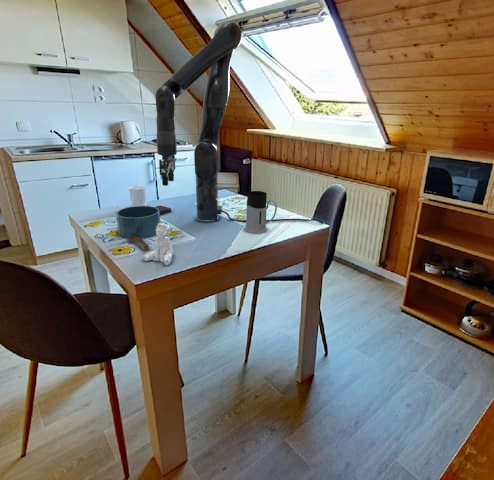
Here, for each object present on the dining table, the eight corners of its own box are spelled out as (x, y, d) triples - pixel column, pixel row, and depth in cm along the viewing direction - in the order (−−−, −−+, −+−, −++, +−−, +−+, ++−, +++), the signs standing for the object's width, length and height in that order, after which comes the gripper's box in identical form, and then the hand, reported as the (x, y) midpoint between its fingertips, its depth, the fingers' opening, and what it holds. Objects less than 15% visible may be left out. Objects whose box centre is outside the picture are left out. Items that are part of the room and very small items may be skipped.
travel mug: (254, 224, 145) (256, 189, 140) (281, 233, 136) (284, 195, 130) (240, 229, 139) (241, 193, 134) (267, 238, 130) (269, 200, 124)
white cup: (150, 206, 169) (148, 186, 165) (141, 210, 162) (139, 189, 159) (136, 204, 172) (134, 185, 168) (127, 209, 165) (125, 188, 161)
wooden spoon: (152, 249, 120) (152, 243, 119) (140, 252, 118) (140, 246, 117) (137, 237, 130) (137, 232, 129) (126, 240, 127) (126, 235, 127)
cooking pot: (164, 224, 144) (163, 206, 141) (154, 238, 129) (153, 218, 126) (126, 223, 145) (124, 205, 142) (112, 237, 130) (109, 217, 127)
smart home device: (171, 208, 161) (136, 218, 146) (172, 211, 161) (136, 222, 147) (160, 204, 165) (124, 214, 151) (160, 208, 166) (125, 218, 151)
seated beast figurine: (142, 261, 111) (139, 225, 106) (157, 251, 118) (154, 217, 114) (168, 266, 108) (165, 229, 103) (181, 255, 115) (179, 221, 111)
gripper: (171, 144, 128) (172, 187, 134) (180, 140, 141) (181, 180, 147) (151, 143, 128) (153, 186, 134) (162, 140, 141) (164, 179, 147)
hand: (168, 183), depth 141 cm, fingers open, 8 cm apart
